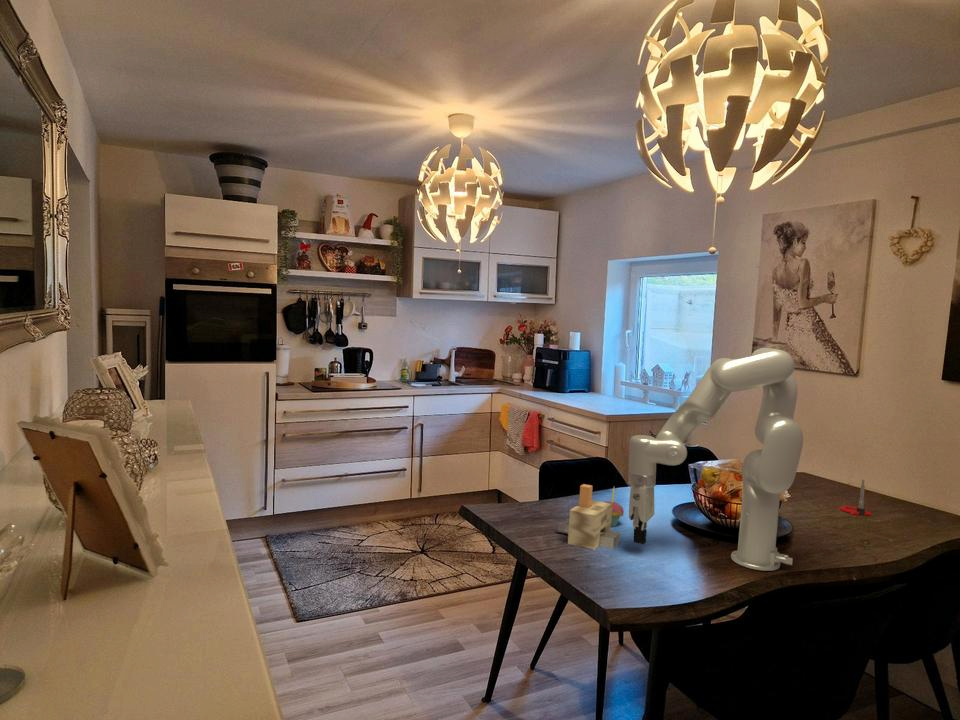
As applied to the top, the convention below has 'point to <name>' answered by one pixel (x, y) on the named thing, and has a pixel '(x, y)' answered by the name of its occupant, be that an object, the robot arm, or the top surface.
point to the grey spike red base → (861, 505)
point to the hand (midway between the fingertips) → (639, 542)
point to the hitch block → (589, 524)
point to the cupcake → (615, 510)
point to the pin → (606, 538)
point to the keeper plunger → (585, 496)
